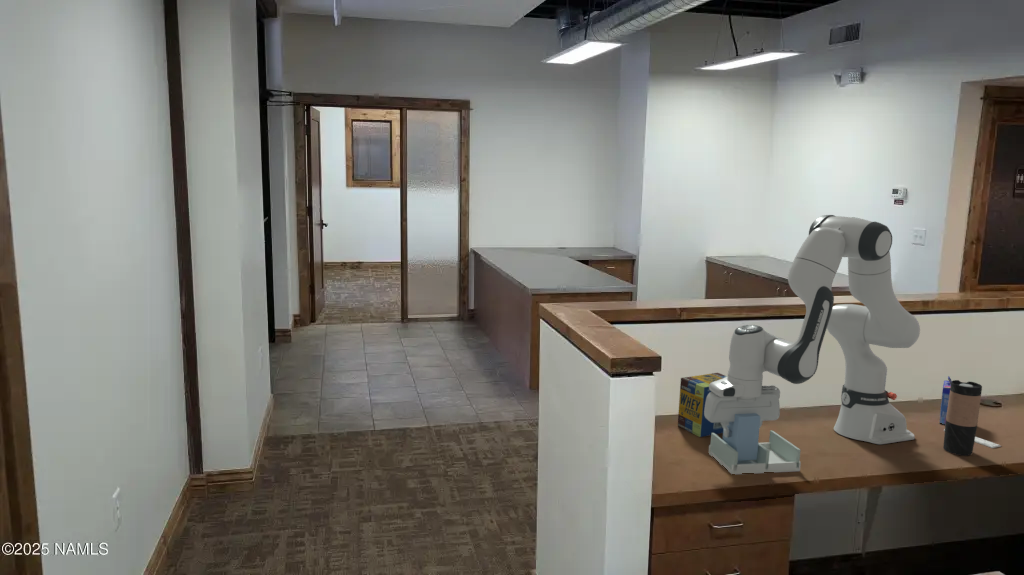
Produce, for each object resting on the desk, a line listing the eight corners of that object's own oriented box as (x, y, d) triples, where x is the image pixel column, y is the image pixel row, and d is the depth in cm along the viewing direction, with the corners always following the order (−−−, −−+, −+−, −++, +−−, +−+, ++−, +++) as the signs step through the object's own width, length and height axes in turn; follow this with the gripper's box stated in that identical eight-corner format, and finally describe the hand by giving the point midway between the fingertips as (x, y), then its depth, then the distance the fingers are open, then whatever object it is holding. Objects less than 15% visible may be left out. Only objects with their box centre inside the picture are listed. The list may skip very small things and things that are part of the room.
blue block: (742, 448, 198) (745, 406, 196) (756, 459, 190) (760, 416, 188) (721, 449, 197) (724, 407, 195) (735, 460, 189) (739, 417, 187)
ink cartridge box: (939, 415, 237) (944, 372, 235) (958, 418, 234) (964, 375, 232) (938, 423, 229) (943, 379, 227) (958, 427, 226) (964, 383, 224)
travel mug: (961, 457, 201) (970, 389, 198) (936, 447, 208) (944, 381, 205) (979, 454, 204) (988, 386, 201) (953, 444, 211) (962, 378, 208)
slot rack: (772, 450, 203) (774, 430, 202) (799, 471, 189) (802, 449, 188) (708, 453, 200) (709, 432, 199) (732, 474, 186) (733, 452, 185)
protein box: (676, 426, 221) (679, 377, 218) (714, 419, 228) (718, 372, 225) (700, 437, 211) (703, 387, 209) (739, 430, 218) (743, 381, 216)
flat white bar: (954, 430, 225) (954, 426, 225) (1002, 447, 211) (1003, 443, 211) (943, 431, 223) (943, 428, 223) (991, 449, 209) (992, 446, 209)
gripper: (774, 381, 195) (769, 430, 197) (703, 383, 191) (699, 433, 194) (786, 388, 189) (782, 438, 191) (713, 391, 185) (710, 442, 188)
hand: (740, 436), depth 192 cm, fingers closed on blue block, 6 cm apart
